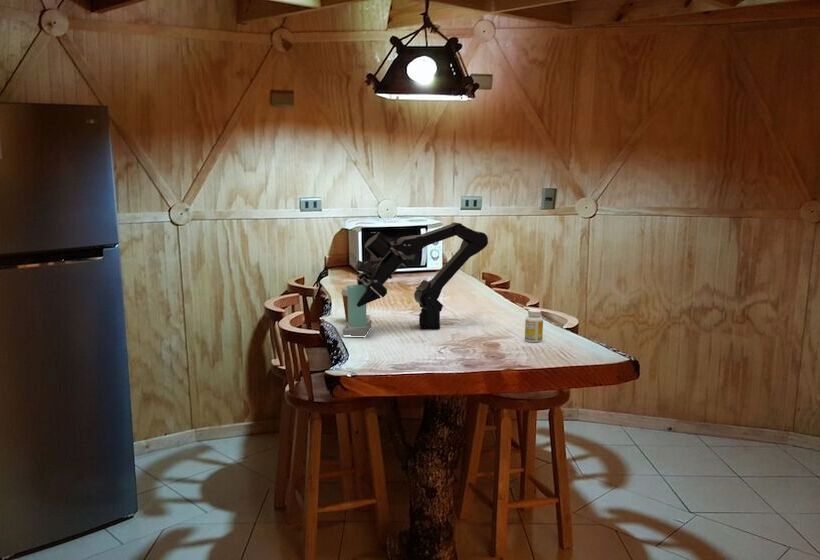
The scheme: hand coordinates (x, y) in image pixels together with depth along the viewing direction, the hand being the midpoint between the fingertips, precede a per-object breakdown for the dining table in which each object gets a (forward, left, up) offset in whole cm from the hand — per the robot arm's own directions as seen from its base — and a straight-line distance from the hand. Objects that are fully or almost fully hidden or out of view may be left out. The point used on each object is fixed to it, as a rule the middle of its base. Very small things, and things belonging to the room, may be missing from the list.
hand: (354, 303), depth 202 cm
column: (-1, 0, -7) cm, 7 cm away
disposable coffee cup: (+3, -16, -10) cm, 19 cm away
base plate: (-1, -1, -10) cm, 10 cm away
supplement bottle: (-57, +5, -10) cm, 58 cm away
